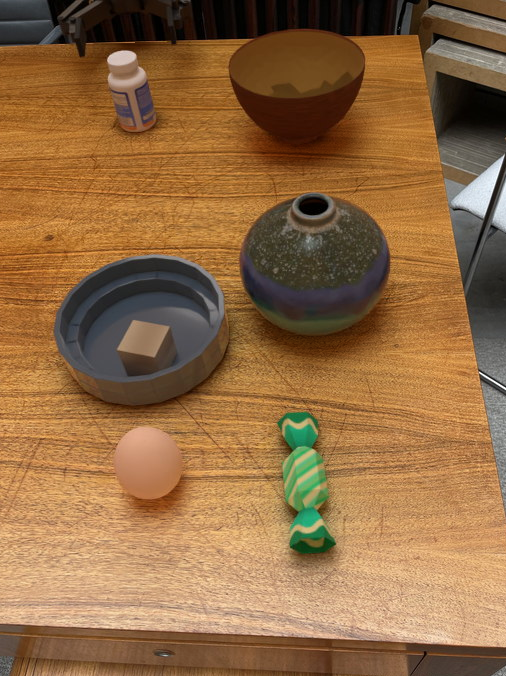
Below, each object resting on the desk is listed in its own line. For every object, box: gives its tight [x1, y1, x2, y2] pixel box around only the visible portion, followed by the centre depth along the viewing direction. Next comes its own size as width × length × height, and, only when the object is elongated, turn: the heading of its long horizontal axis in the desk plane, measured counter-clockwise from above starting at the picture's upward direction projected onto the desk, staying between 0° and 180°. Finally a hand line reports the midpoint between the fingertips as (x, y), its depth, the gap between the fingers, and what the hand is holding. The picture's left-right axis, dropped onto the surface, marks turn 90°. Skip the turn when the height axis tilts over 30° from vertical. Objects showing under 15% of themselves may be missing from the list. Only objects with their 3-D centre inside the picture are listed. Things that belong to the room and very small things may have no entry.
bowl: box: [227, 28, 366, 145], centre depth 86 cm, size 18×18×10 cm
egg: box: [112, 426, 184, 500], centre depth 55 cm, size 6×6×8 cm
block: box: [117, 320, 177, 376], centre depth 64 cm, size 4×4×4 cm
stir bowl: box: [53, 253, 230, 406], centre depth 66 cm, size 17×17×4 cm
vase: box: [238, 191, 391, 337], centre depth 64 cm, size 15×15×13 cm
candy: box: [276, 411, 337, 555], centre depth 55 cm, size 12×3×4 cm
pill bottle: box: [106, 50, 157, 133], centre depth 90 cm, size 5×5×10 cm
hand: (126, 41), depth 93 cm, fingers open, 13 cm apart
